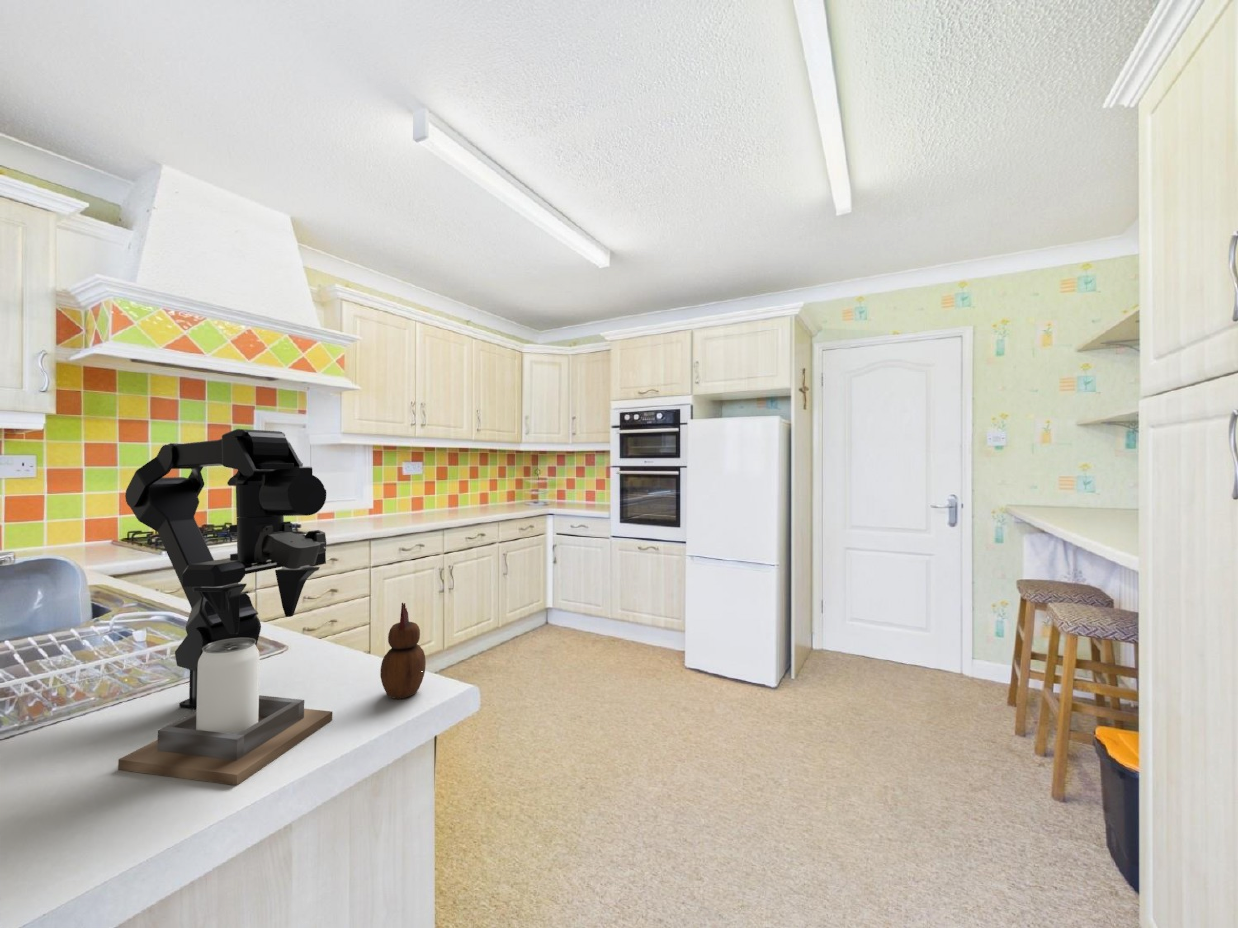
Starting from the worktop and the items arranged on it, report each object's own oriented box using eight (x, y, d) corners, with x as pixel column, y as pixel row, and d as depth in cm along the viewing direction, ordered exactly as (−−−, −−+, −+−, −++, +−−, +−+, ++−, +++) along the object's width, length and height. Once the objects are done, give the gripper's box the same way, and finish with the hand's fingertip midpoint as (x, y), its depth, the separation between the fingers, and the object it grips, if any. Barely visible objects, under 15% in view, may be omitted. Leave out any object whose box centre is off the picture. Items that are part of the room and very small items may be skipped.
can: (270, 729, 72) (272, 639, 72) (223, 754, 66) (225, 655, 66) (232, 722, 74) (233, 634, 74) (182, 746, 68) (184, 649, 68)
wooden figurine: (407, 705, 83) (409, 606, 83) (373, 700, 84) (375, 603, 84) (431, 687, 90) (433, 595, 90) (399, 683, 91) (401, 593, 91)
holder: (118, 769, 64) (118, 738, 64) (233, 709, 80) (234, 684, 80) (237, 785, 62) (237, 752, 62) (332, 719, 78) (332, 693, 78)
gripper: (248, 520, 68) (251, 646, 68) (353, 510, 86) (356, 609, 86) (178, 522, 71) (180, 643, 70) (294, 512, 89) (297, 608, 88)
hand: (263, 624), depth 79 cm, fingers open, 9 cm apart
